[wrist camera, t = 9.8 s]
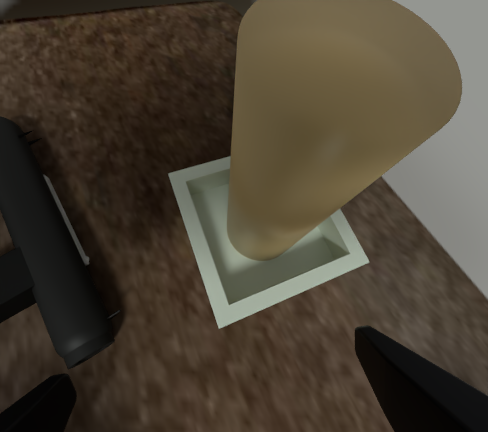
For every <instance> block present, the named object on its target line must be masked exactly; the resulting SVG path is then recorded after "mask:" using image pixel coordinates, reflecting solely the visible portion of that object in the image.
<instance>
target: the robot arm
mask: <svg viewBox="0 0 488 432" xmlns="http://www.w3.org/2000/svg"><path fill="white" fill-rule="evenodd" d="M355 351H356V355H357V357H358V359H359V361H360V364H361V366H362V368H363V370H364V372H365V374H366V376H367V378H368V380H369V383H370V385H371V387H372V389H373V391H374V393H375V395H376V397H377V400H378V402H379V404H380V406H381V408H382V410H383V412H384V414H385V416H386V417H387V419H388V421H389V423H390V425H391V426H392V428H393V430H394V431H395V432H488V396H487V395H486V394H484V393H482V392H481V391H479V390H477V389H476V388H474V387H472V386H471V385H469V384H467V383H465V382H464V381H462V380H460V379H459V378H457V377H455V376H454V375H452V374H450V373H449V372H447V371H445V370H443V369H442V368H440V367H438V366H437V365H435V364H433V363H432V362H430V361H428V360H427V359H425V358H423V357H421V356H420V355H418V354H416V353H415V352H413V351H411V350H410V349H408V348H406V347H405V346H403V345H401V344H399V343H398V342H396V341H394V340H393V339H391V338H389V337H388V336H386V335H384V334H383V333H381V332H379V331H377V330H376V329H374V328H372V327H371V326H361V327H357V328H355ZM76 397H77V394H76V390H75V388H74V386H73V384H72V381H71V379H70V377H69V375H68V374H65V373H64V374H58V375H53V376H51V377H49V378H48V379H46V380H45V381H44V382H42V383H41V384H40V385H38V386H37V387H35V388H34V389H33V390H31V391H30V392H29V393H27V394H26V395H25V396H23V397H22V398H21V399H19V400H18V401H17V402H15V403H14V404H13V405H11V406H10V407H9V408H7V409H6V410H5V411H3V412H2V413H1V414H0V432H64V429H65V427H66V424H67V422H68V419H69V417H70V414H71V412H72V410H73V407H74V405H75V402H76Z"/></svg>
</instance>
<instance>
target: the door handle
mask: <svg viewBox="0 0 488 432" xmlns="http://www.w3.org/2000/svg"><path fill="white" fill-rule="evenodd" d="M33 131H34V130H33ZM30 132H32V131H30ZM30 132H27V133H23V131H22V130H21V128H20V127H19V126H18V125H17V124H15V123H14V122H12V121H11V120H9V119H7V118H4V117H0V210H1V213H2V215H3V218H4V220H5V223H6V226H7V228H8V231H9V233H10V236H11V238H12V241H13V243H14V246H15V249H14V250H12V251H10V252H8V253H6V254H4V255H2V256H1V257H0V323H1V322H3V321H5V320H6V319H8V318H10V317H12V316H13V315H15V314H17V313H19V312H21V311H22V310H24V309H26V308H28V307H29V306H31V305H33V304H35V303H37V305H38V307H39V310H40V312H41V315H42V317H43V320H44V323H45V325H46V328H47V330H48V333H49V335H50V338H51V340H52V343H53V346H54V348H55V350H56V352H57V353H58V354H59V355H60V356H61V357H62V358H64V360H65V363H66V365H67V368H68V369H71V368H73V367H75V366H77V365H79V364H81V363H83V362H84V361H86V360H88V359H89V358H91V357H93V356H94V355H96V354H98V353H99V352H101V351H102V350H104V349H105V348H107V347H108V346H109V345H111V344H112V343H113V342H114V341H115V340H114V337H113V335H112V333H111V331H112V323H111V319H112V318H113V317H114V315H115V314H117V313H118V312H120V311H121V310H118V311H116V312H115V313H113V314H112V315H110V316H109V315H108V313H107V311H106V308H105V306H104V304H103V302H102V300H101V298H100V296H99V293H98V291H97V289H96V287H95V285H94V283H93V281H92V278H91V276H90V274H89V272H88V270H87V268H86V266H87V265H89V257H88V256H86V255H85V253H84V251H83V249H82V247H81V245H80V243H79V241H78V238H77V236H76V234H75V232H74V230H73V228H72V226H71V224H70V222H69V219H68V217H67V215H66V213H65V211H64V209H63V207H62V205H61V203H60V201H59V198H58V196H57V194H56V192H55V190H54V188H53V186H52V184H51V182H50V179H49V178H48V177H47V176H45V175H43V174H42V171H41V169H40V167H39V165H38V163H37V161H36V159H35V156H34V154H33V152H32V150H31V148H30V146H29V145H31V144H33V143H35V142H36V141H38V140H40V139H42V138H40V139H37V140H34V141H31V142H27V139H26V137H25V135H27V134H28V133H30ZM118 314H119V313H118ZM112 316H113V317H112ZM115 316H116V315H115ZM111 317H112V318H111Z"/></svg>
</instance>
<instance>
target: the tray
mask: <svg viewBox="0 0 488 432" xmlns="http://www.w3.org/2000/svg"><path fill="white" fill-rule="evenodd" d="M230 159H231V156H229V157H226V158H222V159H218V160H215V161H211V162H208V163H204V164H200V165H197V166H193V167H190V168H186V169H182V170H179V171H175V172H172V173H168V175H169V178H170V181H171V184H172V187H173V190H174V193H175V196H176V200H177V203H178V206H179V209H180V212H181V215H182V218H183V221H184V224H185V227H186V230H187V233H188V236H189V239H190V242H191V245H192V248H193V251H194V254H195V257H196V260H197V263H198V266H199V269H200V273H201V276H202V279H203V282H204V285H205V288H206V291H207V294H208V297H209V300H210V303H211V306H212V309H213V312H214V315H215V318H216V321H217V324H218V327H219V329H220V328H222V327H224V326H226V325H229V324H231V323H233V322H235V321H238V320H240V319H242V318H244V317H247V316H249V315H251V314H253V313H256V312H258V311H260V310H262V309H265V308H267V307H269V306H272V305H274V304H276V303H278V302H281V301H283V300H285V299H287V298H290V297H292V296H294V295H296V294H299V293H301V292H303V291H305V290H308V289H310V288H312V287H314V286H317V285H319V284H321V283H324V282H326V281H328V280H330V279H333V278H335V277H337V276H339V275H342V274H344V273H346V272H348V271H351V270H353V269H355V268H357V267H360V266H362V265H364V264H366V263H369V260H368V258H367V256H366V255H365V253H364V251H363V249H362V247H361V246H360V244H359V242H358V240H357V238H356V237H355V235H354V233H353V231H352V229H351V228H350V226H349V224H348V222H347V220H346V218H345V217H344V215H343V213H342V211H341V209H338V210H337V211H336V212H335V213H333V214H332V215H331V216H330V217H328V218H327V219H326V220H324V221H323V222H322V223H321V224H319V225H318V226H317V227H316V228H314V229H313V230H312V231H311V232H309V233H308V234H307V235H305V236H304V237H303V238H302V239H300V240H299V241H298V242H297V243H295V244H294V245H293V246H292V247H290V248H289V249H288V250H286V251H285V252H284V253H283V254H281V255H280V256H278V257H276V258H274V259H271V260H267V261H256V260H252V259H249V258H247V257H245V256H243V255H241V254H240V253H239V252H238V251H237V250H236V249H235V248H234V247H233V246H232V244H231V242H230V240H229V238H228V234H227V212H228V194H229V177H230Z"/></svg>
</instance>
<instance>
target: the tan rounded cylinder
mask: <svg viewBox="0 0 488 432" xmlns="http://www.w3.org/2000/svg"><path fill="white" fill-rule="evenodd" d="M461 94H462V80H461V74H460V70H459V67H458V64H457V62H456V60H455V58H454V56H453V54H452V52H451V50H450V49H449V47H448V46H447V44H446V43H445V42H444V40H443V39H442V38H441V37H440V36H439V34H438V33H437V32H436V31H435V30H434V29H433V28H432V27H431V26H430V25H429V24H427V23H426V22H425V21H424V20H422V19H421V18H420V17H419V16H417V15H416V14H414V13H413V12H412V11H410V10H409V9H407V8H405V7H404V6H402V5H400V4H398V3H396V2H394V1H392V0H258V1H256V2H255V3H254V4H253V5H252V6H251V7H250V8H249V9H248V11H247V12H246V14H245V15H244V17H243V19H242V21H241V24H240V27H239V31H238V38H237V55H236V72H235V90H234V107H233V124H232V142H231V159H230V177H229V194H228V212H227V234H228V238H229V240H230V242H231V244H232V246H233V247H234V248H235V249H236V250H237V251H238V252H239V253H240V254H241V255H243V256H245V257H247V258H249V259H252V260H256V261H267V260H271V259H274V258H276V257H278V256H280V255H281V254H283V253H284V252H285V251H286V250H288V249H289V248H290V247H292V246H293V245H294V244H295V243H297V242H298V241H299V240H300V239H302V238H303V237H304V236H305V235H307V234H308V233H309V232H311V231H312V230H313V229H314V228H316V227H317V226H318V225H319V224H321V223H322V222H323V221H324V220H326V219H327V218H328V217H330V216H331V215H332V214H333V213H335V212H336V211H337V210H338V209H340V208H341V207H342V206H343V205H345V204H346V203H347V202H349V201H350V200H351V199H352V198H354V197H355V196H356V195H357V194H359V193H360V192H361V191H362V190H364V189H365V188H366V187H368V186H369V185H370V184H371V183H373V182H374V181H375V180H376V179H378V178H379V177H380V176H382V175H383V174H384V173H385V172H387V171H388V170H389V169H390V168H392V167H393V166H394V165H395V164H397V163H398V162H399V161H400V160H402V159H403V158H404V157H406V156H407V155H408V154H409V153H411V152H412V151H413V150H414V149H416V148H417V147H418V146H420V145H421V144H422V143H423V142H425V141H426V140H427V139H428V138H430V137H431V136H432V135H433V134H435V133H436V132H437V131H439V130H440V129H441V128H442V127H443V126H444V125H445V124H447V123H448V122H449V121H450V119H451V118H452V117H453V115H454V114H455V112H456V110H457V108H458V106H459V103H460V99H461Z"/></svg>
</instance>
